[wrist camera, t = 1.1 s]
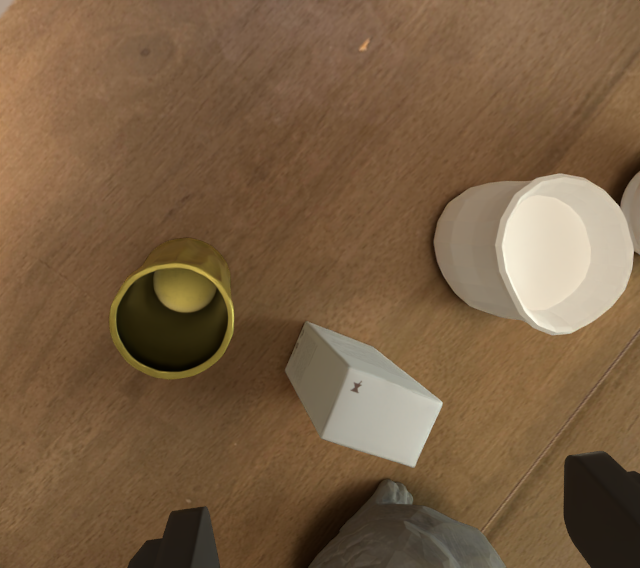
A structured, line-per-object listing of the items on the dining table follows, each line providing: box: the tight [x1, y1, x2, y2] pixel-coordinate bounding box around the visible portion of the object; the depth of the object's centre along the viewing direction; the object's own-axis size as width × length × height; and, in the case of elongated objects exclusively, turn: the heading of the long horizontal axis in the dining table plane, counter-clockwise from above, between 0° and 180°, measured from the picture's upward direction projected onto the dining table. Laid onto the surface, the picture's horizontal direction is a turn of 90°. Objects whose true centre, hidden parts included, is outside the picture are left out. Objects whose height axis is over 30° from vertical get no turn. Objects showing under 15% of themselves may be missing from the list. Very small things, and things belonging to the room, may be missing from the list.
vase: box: [109, 238, 234, 380], centre depth 29 cm, size 6×6×14 cm
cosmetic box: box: [285, 321, 443, 468], centre depth 33 cm, size 6×4×12 cm
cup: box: [434, 173, 634, 335], centre depth 36 cm, size 10×10×10 cm
